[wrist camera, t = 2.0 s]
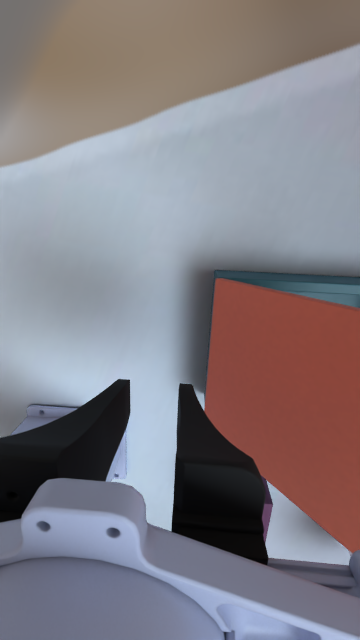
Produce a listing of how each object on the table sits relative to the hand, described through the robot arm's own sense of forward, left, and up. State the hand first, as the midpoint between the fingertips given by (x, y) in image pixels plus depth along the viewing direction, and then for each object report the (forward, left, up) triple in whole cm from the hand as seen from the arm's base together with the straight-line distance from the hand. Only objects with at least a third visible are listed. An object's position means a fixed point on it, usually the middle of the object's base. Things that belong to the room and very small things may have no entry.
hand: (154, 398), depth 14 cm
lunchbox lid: (+8, 0, 0) cm, 8 cm away
